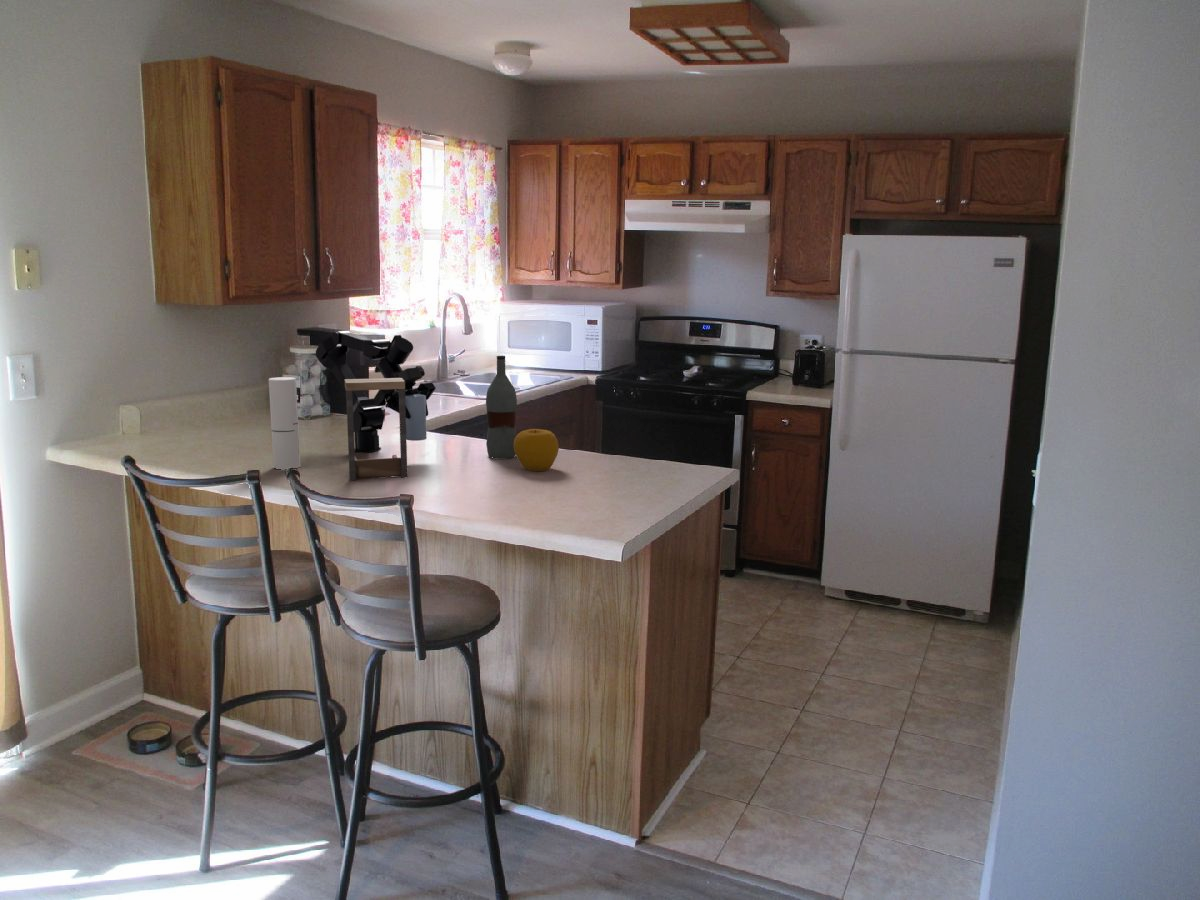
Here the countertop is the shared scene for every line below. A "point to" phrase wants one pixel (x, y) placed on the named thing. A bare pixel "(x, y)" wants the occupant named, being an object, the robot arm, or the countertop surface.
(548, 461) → the apple
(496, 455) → the bottle
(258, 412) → the countertop surface
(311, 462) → the countertop surface
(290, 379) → the cylindrical container
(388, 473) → the shelf bay
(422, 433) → the blue-grey tall cylinder
